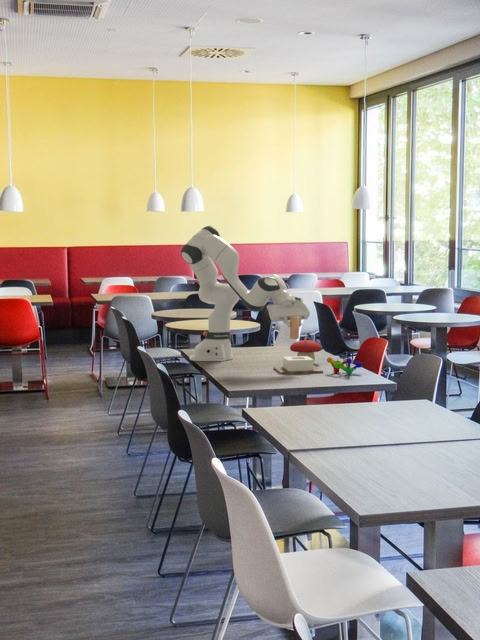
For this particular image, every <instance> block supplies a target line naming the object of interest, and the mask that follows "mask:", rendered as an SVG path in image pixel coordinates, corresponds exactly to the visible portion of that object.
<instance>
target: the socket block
mask: <svg viewBox="0 0 480 640" xmlns="http://www.w3.org/2000/svg"><path fill="white" fill-rule="evenodd" d="M314 363H315V361H314V360H313V359H312V358H310V357H308V356H282V367H283V368H285V369H286V370H287V371H311V370H314V366H315V364H314Z"/></svg>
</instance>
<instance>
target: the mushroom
mask: <svg viewBox="0 0 480 640" xmlns="http://www.w3.org/2000/svg"><path fill="white" fill-rule="evenodd" d="M308 337H309V338H311V337H312V334H310V333H309V332H307V333H306V335H305V337H304V340H297V341H295V342H293V343H292V344H290V347H289V349H290V351H291V352H295V353H297V356H308V357H310V358H312V359H313V360H314V362H315V360H316V357H315V353H318V352H321V351H322V349H323V347H322V345H321V344H320V343H319V342H317V341H313V340H310V339H309V340H307V339H308Z"/></svg>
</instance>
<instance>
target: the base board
mask: <svg viewBox="0 0 480 640" xmlns="http://www.w3.org/2000/svg"><path fill="white" fill-rule="evenodd" d="M273 369H274V371H276V372H277V373H278V374H280V375H303V374H305V375H306V374H324V370H323V369H321V368H319V367H318V366H316V365H314V370H311V371H287V370H286V369H285V368H283V366H273Z"/></svg>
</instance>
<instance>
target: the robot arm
mask: <svg viewBox="0 0 480 640" xmlns="http://www.w3.org/2000/svg"><path fill="white" fill-rule="evenodd" d="M180 256H181V258H182V259H183V260H184V261H185V262H186V263H187V264H189V266H190V268H191V270H192V272H193V273H194V275H195V277H196V278H197V281H198V283H199V289H198V290H197V291H198V292H197V294H198V297H199V300H200V301H201V302H203V303H206V304H209V305H214V308H213V311H212V312H211V313H210V314H209V315H208V317H207V318H208V331H203V333H202V335H203V336H204V339H203V340H202V341H201V342H199V343H198V344H197V345H195V347H194V350H193V355H190V356H189V360H190V361H193V362H225V361H229V360H233V359H234V356H233V352H232V344H231V342H232V332H231V315H232V312H233V308H234V307H235V305H236V304H237V303H238V302H239V300H241V301H242V302H243V305H244V306H245V307H246V309H248V310H249V311H251V312H254V313H255V312H257V313H258V312H262V311H263V309H265V308H264V307H266V310H267V311H268V315H269V316H268V317H269V318H270V320H271V321H272V322H283V324H285V325H286V326H287V327H288V328H290V327H291V326H292V324H291V322H290V317H299V327H302V326H303V323H302V320H308V319H309V317H310V315H311V312H310V310H309V308H308V307H307V305H306V304H305V303H304V300H303V298H301V297H298V296H295V295H291V293H290V292H289V290H288V287H287V284H286V282H285V281H284V280H283V279H282V277H281V276H280V275H278V274H269V275H268V276H266V277H265V276H264V277H263V276H262V277H259V278H258V279H257V280H256V282H255V283H254V284H253V286H252V288H251V289H250V290H249V289H248V288H247V287H246V285H245V284H244V283H243V282H242V281H241V280H240V278H239V275H238V274H239V265H240V255H239V252H238V251H237V249H235V248H234V247H233V246H232V245H231V244H230V243H229V242H227V241H226V240H225V239H223V238H222V237H221V236H220V232H219V231H218V230H217V229H216V227H213V226H212V225H211V226H210V225H207V226H204V227H202V228H201V229H200V231H198V232H196V233H194V235H193V236H192V237H191V238H190V239H189V240H188V242H187V243H185V244H184V245H183V247H182V248H181V249H180ZM217 266H218V267H219V269H220V271H221V273H222V274H221V275H222V277H223V279H224V280H225V282H226V283H221V282H219V281H218V280H217V277H218V275H219V269H218V268H217ZM270 299H272V302H273V303H268V301H269V300H270ZM267 303H268V304H267Z"/></svg>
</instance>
